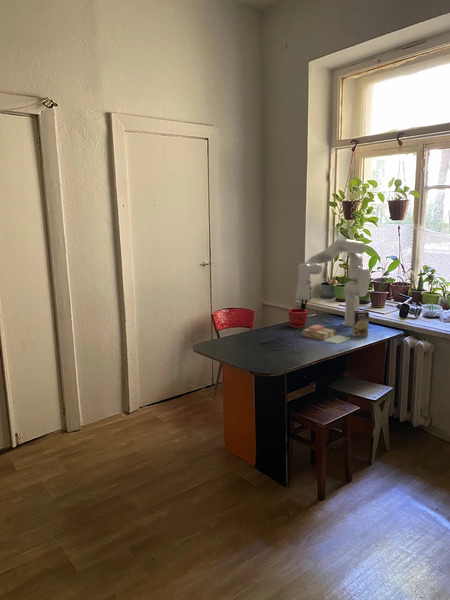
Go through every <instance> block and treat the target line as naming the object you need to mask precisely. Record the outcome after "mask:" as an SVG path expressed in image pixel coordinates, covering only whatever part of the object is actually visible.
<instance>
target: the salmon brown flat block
mask: <svg viewBox="0 0 450 600" xmlns="http://www.w3.org/2000/svg"><path fill="white" fill-rule="evenodd" d="M308 328H309V330H310V331H316V332H317V331H320V330H323V329H324V328H325V325H320V324H313V325H311V326H308Z"/></svg>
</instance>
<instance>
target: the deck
mask: <svg viewBox="0 0 450 600" xmlns="http://www.w3.org/2000/svg"><path fill="white" fill-rule="evenodd" d="M335 335H336V329H334V328H333V329H331V328H326V327H324V329H323V330H320V331H317V332H316V331H310V330H309V327H308V328H305V329H302V337H307V338H311V339H315V340H321V341H323V340H325V339H328V338H330V337H333V336H335Z"/></svg>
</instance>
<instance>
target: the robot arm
mask: <svg viewBox="0 0 450 600" xmlns="http://www.w3.org/2000/svg"><path fill="white" fill-rule="evenodd" d="M366 250H367V245H366V243H365V242H363V241H359V240H358V241H357V240H352V239H345V238H344V239H343V238H338V239H336V240H335V241H333V242H332V243H331V244H330V245H329V246H328V247H326V248H325V249H324V250H323V251H321V252H319V253H317V254H314V255H313V256H311V257H310V258H309V259H307V261H305V262H304V263H300V264H298V278H297V279H298V282H297V283H298V284H296V285H297V286H296V292H295V296H296V297H295V298H296V300H297V301H298V302H299V303H300V309H301V310H307V304H308V303H309V302H311V301H312V300H311V299H313V289H312V285H311V284H312V281H311V275H314V276H315V275H320V274H321V273H322V272H323V266H322V265H321V264H324V263H329V262H331V261H333V260H335V258H337V256H339V255H340V254H341V253H342V252H343V253H346V254H347V255H348V257H349V263H348V264H349V266H348V271H347V272H348V273H347V274H348V278H349V279H351V280H350V281H347V282H345V285H344V287H343V289H344V294H345V295H344V297H345V300H344V301H345V303H344V304H345V305H344V321H343V322H342V326H345V327H349V328H352V327H353V311H360V298H359V297H365V296H366V295H367V294H368V292H369V286H370V280H371V279H370V278H371V272H370V270H369V269H368V268H367V267H364V266H363V256H362V255H363V254H364V253H365V251H366ZM352 280H353V281H352ZM354 280H355V281H354Z"/></svg>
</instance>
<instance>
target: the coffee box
mask: <svg viewBox="0 0 450 600" xmlns="http://www.w3.org/2000/svg"><path fill="white" fill-rule="evenodd" d="M369 319H370V312H369V311H367V310H359V311H353V327H351V328H352V329H351V330H352V331H351V334H352V336H353V337H356V338H357V337H361V338H363V337H364V338H365V337H366V338H368V337H369Z"/></svg>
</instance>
